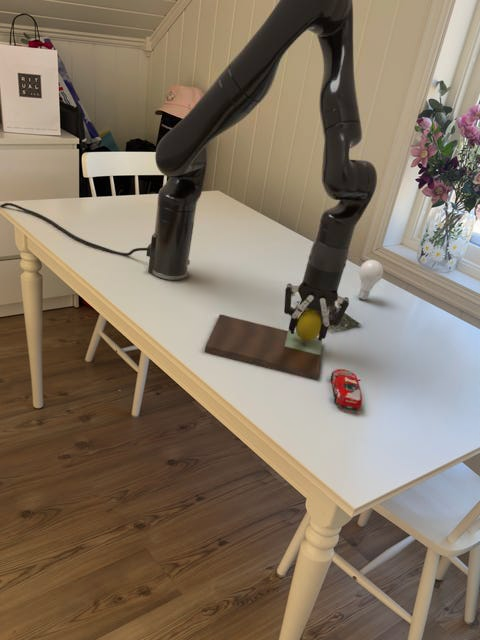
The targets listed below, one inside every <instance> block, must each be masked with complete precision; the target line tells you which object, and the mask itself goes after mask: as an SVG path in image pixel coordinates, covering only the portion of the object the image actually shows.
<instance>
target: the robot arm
mask: <svg viewBox="0 0 480 640" xmlns="http://www.w3.org/2000/svg"><path fill="white" fill-rule="evenodd" d="M307 31H309V32H311V33H313V34H315V35H316V37H317V39H318V43H319V46H320V50H321V56H322V62H323V73H322V80H321V86H320V91H319V101H318V102H319V104H318V105H319V114H320V123H321V129H322V134H323V141H324V142H323V143H324V144H323V154H322V166H321V185H322V187H323V190H324V192H325V194H326V195H327V196H328V197H329V198H330V199H331V200H335V201H338V203H337V204H336V205H333V207H330V208H328V209H326V210H324V211H323V212H322V214H321V216H320V219H319V223H318V228H317V230H316V235H315V237H314V241H313V243H312V246H311V249H310V252H309V255H308V259H307V263H306V268H305V271H304V275H303V278H302V282H301V283H300V284H299V285H293V284H292V283H287V284H286V285H285V290H284V291H285V293H284V308H283V310H284V311H283V313H284V314H285V315H289V316H290V320H289V324H288V330H289V331H291V334H294V332H296V323H297V320H298V317H299V316H300V314H301V313H302V312H303V311H305V308H309V309H315V310H317V311H322V317H323V323H322V327H321V331H320V333H319V335H318V336H317V337H318V340H320V341H321V340H322V341H323V340H325V338H326V337H327V333H328V330H329V329H328V327H329V326H331V325H334V326H337V325H338V324H339V322H340V320H341V318H342V317H343V315H344V313H346V311H347V310H348V307H349V305H350V299H349V297H345V296H344V297H342V296H340V295H339V294H338V293H339V292H338V290H339V287H340V285H341V280H342V277H343V275H344V270H345V268H346V267H347V261H348V256H349V251H350V247H351V243H352V240H353V237H354V233H355V229H356V226H357V224H358V223H359V221H360V220H361V218H362V216H363V215H364V214H365V211H366V209H367V208H368V206H369V204H370V202H371V200H372V199H373V196H374V195H375V193H376V190H377V184H378V173H377V169H376V167H375V165H374V164H373V163H372V162H371V161H368V160H365V159H350V150H351V149H353V148H355V147H356V146H358V145H359V144H360V143H361V141H362V139H363V129H362V128H363V127H362V123H361V122H362V121H361V116H360V108H359V103H358V96H357V88H356V78H355V77H356V76H355V62H354V60H355V59H354V1H353V0H278V2H277V4H276V5H275V7H274V8H273V9H272V11H271V12H270V14H269V15H268V17H266V19H265V21H264V22H263V23H262V25H261V26H260V27H259V28H258V29H257V31H256V32H255V33H254V34H253V36H252V37H251V38H250V39H249V40H248V42H247V43H246V44H245V45H244V47H243V48H242V49H241V51H239V53H238V54H236V56H235V57H234V58H233V59H232V60H231V61H230V63H229V64H227V66H226V67H225V68H224V69H223V71H222V72H221V73H220V74H219V76H218V77H217V78H216V79H215V81H213V83H212V84H211V86H210V87H209V88H207V90H206V91H205V92H204V94H203V95H202V96H201V98H199V100H198V101H197V102H196V103H195V105H194V106H193V107H192V108H191V110H190V111H189V112H188V113H187V114H186V115H185V116H184V117H183V118H182V119H180V121H179V122H178V123H177V124H175V126H174V127H172V128H171V129H170V130H169V131H167V133H165V135H164V136H163V137H162V138H161V139H160V140H159V142H158V143H157V145H156V149H155V153H154V154H155V155H154V158H155V165H156V167H157V169H158V171H159V172H160V173H161V174H162V175H163V176H165V177H168V180H167V181H166V183H165V184H164V185H163V186H162V187H161V188H160V189H159V191H158V194H157V205H156V213H155V215H156V216H155V224H154V232H153V234H152V235H151V239H150V244H148V246H147V247H137V248H133V249H131V250H130V251H129V252H120V251H117V250H113V249H111V248H108V247H105V246H102V245H99V244H96V243H92V242H90V241H88V240H85V239H82V238H81V237H78V236H77V235H74V233H71V232H70V231H68V230H67V229H65V228H64V227H62V226H61V225H59V224H57V222H55V221H53V220H52V219H50V218H48V217H46V216H45V215H43V214H40V213H38V212H36V211H34V210H30V209H27V208H25V207H22V206H20V205H18V204H16V203H12V202H5V203H2V204H0V208H4V207H7V206H8V207H9V206H10V207H14V208H15V209H19V210H21V211H23V212H25V213H29V214H32V215H33V216H36V217H38V218H41V219H43V220H45V221H46V222H48V223H49V224H51V225H53V226H54V227H56V228H57V229H59V230H60V231H62V232H63V233H65V234H66V235H68V236H69V237H71V238H73V239H75V240H76V241H79V242H81V243H83V244H85V245H88V246H91V247H94V248H96V249H100V250H103V251H105V252H108V253H111V254H114V255H115V254H116V255H118V256H124V257H127V256H128V257H129V256H131V255H132V254H134V253H136V252H143V251H145V252H146V257H149V260H148V270H147V272H148V273H149V274H153V275H154V276H155V277H157V278H160V279H163V280H169V281H180V280H181V281H182V280H184V279H186V278H187V276H188V269H189V266H190V262H191V261H190V254H191V247H192V240H193V239H192V238H193V232H194V226H195V219H196V211H197V204H198V202H199V200H200V198H201V195H202V193H203V189H204V183H205V178H206V173H207V166H208V158H209V157H208V156H209V155H208V147H207V145H208V144H210V142H211V141H213V140H214V139H215V138H217V137H219V136H220V135H222V134H223V133H225V132H226V131H228V130H229V129H231V128H233V127H234V126H236V125H237V124H238V123H240V122H241V121H243V120H244V119H246V117H248V115H249V114H251V113H252V112H253V110H254V109H256V107H257V106H258V105H259V104H260V103H261V102H262V101H264V99H265V98H266V96H267V95H268V94H269V93H270V91H271V88H272V87H273V85H274V81H275V79H276V75H277V72H278V69H279V66H280V64H281V61H282V58H283V57H284V55H285V54H286V52H287V51H288V50H289V49H290V47H291V46H292V45H293V44H294V43H295V42H296V41H297V40H298V39H299V38H300V37H302V35H303V34H304V33H306V32H307ZM297 292H298V294H299V297H300V300H299V301H300V302H299V303H297V304H296V305H295V307H292V297H295V295H296V293H297ZM334 302H335V303H336V302H337V305H336V307H337V308H338V310H337V312H336V314H335V316H334V317H330V316H329V308H328V307H329V306H330V305H332V304H333V303H334Z"/></svg>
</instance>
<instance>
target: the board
mask: <svg viewBox="0 0 480 640" xmlns="http://www.w3.org/2000/svg"><path fill="white" fill-rule="evenodd" d="M322 346H323V339H322V340H321V341H320V340H318V336H317V337H316V338H315V339H313V340H310V341H306V342H304V341H303V340H302V339H301V338H300V337H299V336H298V335H297V333H296V331H294V334H291V331H289V329H288V330H286V329H282V328H277V327H273V326H270V325H265V324H261V323H257V322H253V321H250V320H246V319H241V318H238V317H233V316H229V315H225V314H219V315H218V318H217V320H216V322H215V324H214V327H213V329H212V331H211V333H210V336H209V337H208V340H207V342H206V344H205V347H204V353H207V354H211V355H215V356H219V357H222V358H227V359H231V360H235V361H239V362H242V363H248V364H250V365H255V366H260V367H264V368H267V369H271V370H275V371H279V372H283V373H287V374H291V375H295V376H298V377H299V376H300V377H303V378H308V379H311V380H316V381H317V380H318V377H319V371H320V363H321V355H322V348H323V347H322Z"/></svg>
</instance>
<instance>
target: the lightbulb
mask: <svg viewBox="0 0 480 640" xmlns="http://www.w3.org/2000/svg"><path fill="white" fill-rule="evenodd" d="M384 271H385V270H384V267H383V265H382V263H381V262H380V261H378V260H376V259H367V260H365V261H364V262H363V263H362V264H361V265H360V267H359V269H358V276H359V280H360V289H359V292H358V295H357V296H358V298H359V299H360V300H362V301H364V300H368V298H369V297H370V293H371V291H372V290H373V288H374V286H375V285H377V284H378V283H379V282H380V281H381V280H382V279H383V276H384Z"/></svg>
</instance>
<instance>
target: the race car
mask: <svg viewBox="0 0 480 640" xmlns="http://www.w3.org/2000/svg"><path fill="white" fill-rule="evenodd" d="M361 381H362V379H358V376H357V375H356V374H355V373H354V372H352V371H350V370H347V369H345V368H344V369H343V368H342V369H341V368H338V369H334V370H333V371H332V372H331V375H330V382H331V387H332V393H333V400H334V401H333V402H334V404H335V405H336V406H337V407H338V408H342V409H344V410H345V409H346V410H349V411H360V409H361V407H362V404H363V396H362V392H361V391H362V390H361V388H360V387H361V386H360V383H359V382H361Z"/></svg>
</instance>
